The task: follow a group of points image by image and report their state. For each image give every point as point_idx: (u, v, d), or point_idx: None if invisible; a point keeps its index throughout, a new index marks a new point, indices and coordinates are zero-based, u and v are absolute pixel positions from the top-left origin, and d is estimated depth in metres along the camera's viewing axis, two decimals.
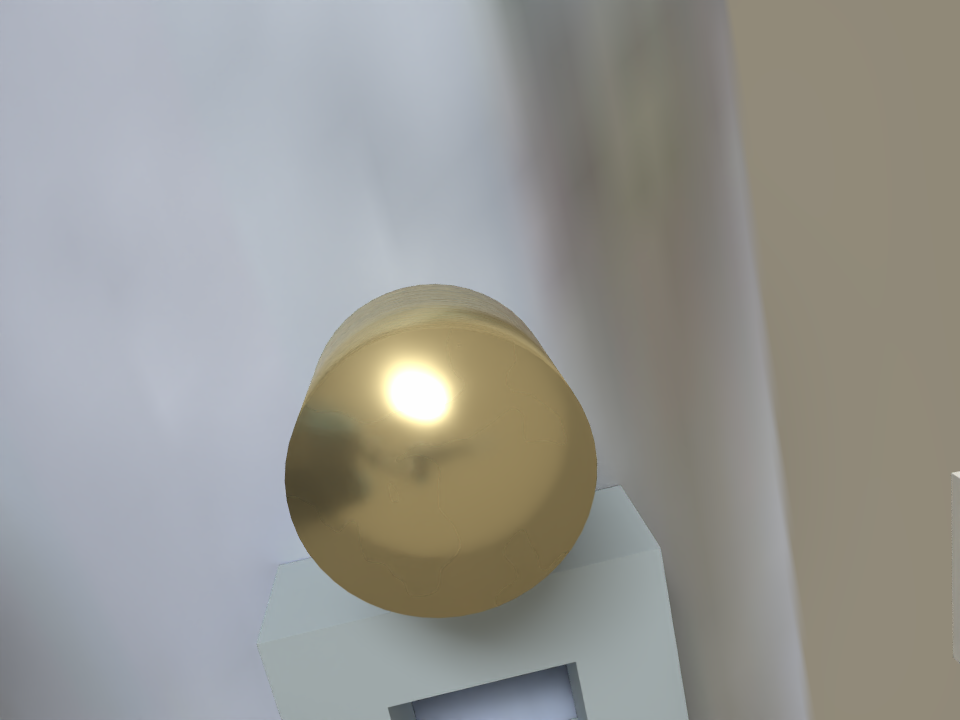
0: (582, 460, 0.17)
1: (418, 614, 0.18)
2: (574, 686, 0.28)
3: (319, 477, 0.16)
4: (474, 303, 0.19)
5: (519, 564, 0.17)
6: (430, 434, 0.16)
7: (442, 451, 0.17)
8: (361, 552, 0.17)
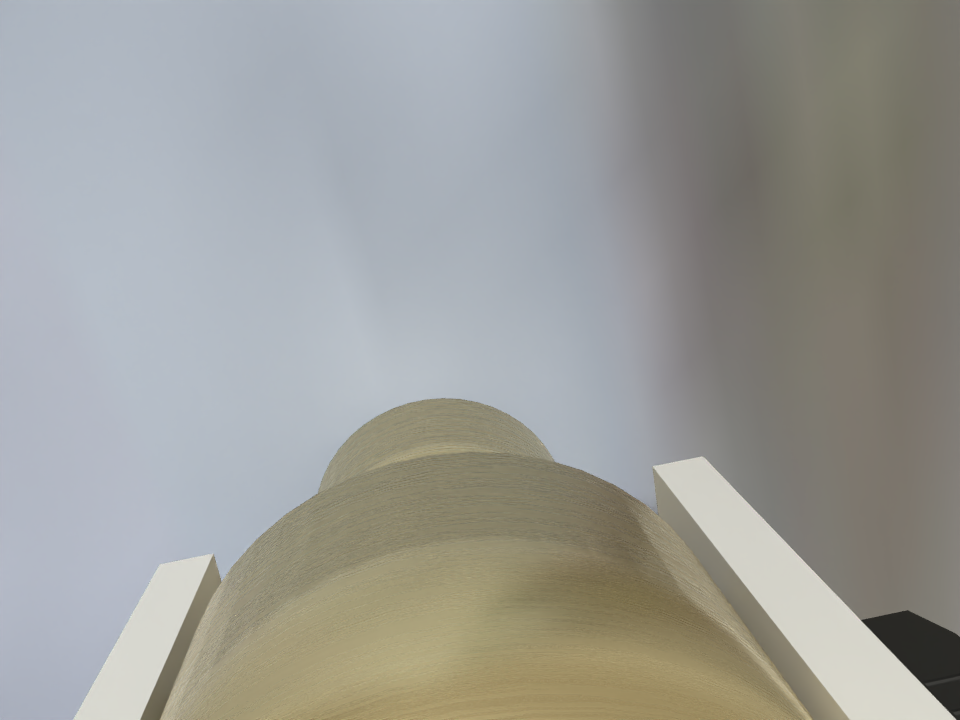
0: None
1: None
2: None
3: None
4: (585, 544, 0.07)
5: None
6: None
7: None
8: None
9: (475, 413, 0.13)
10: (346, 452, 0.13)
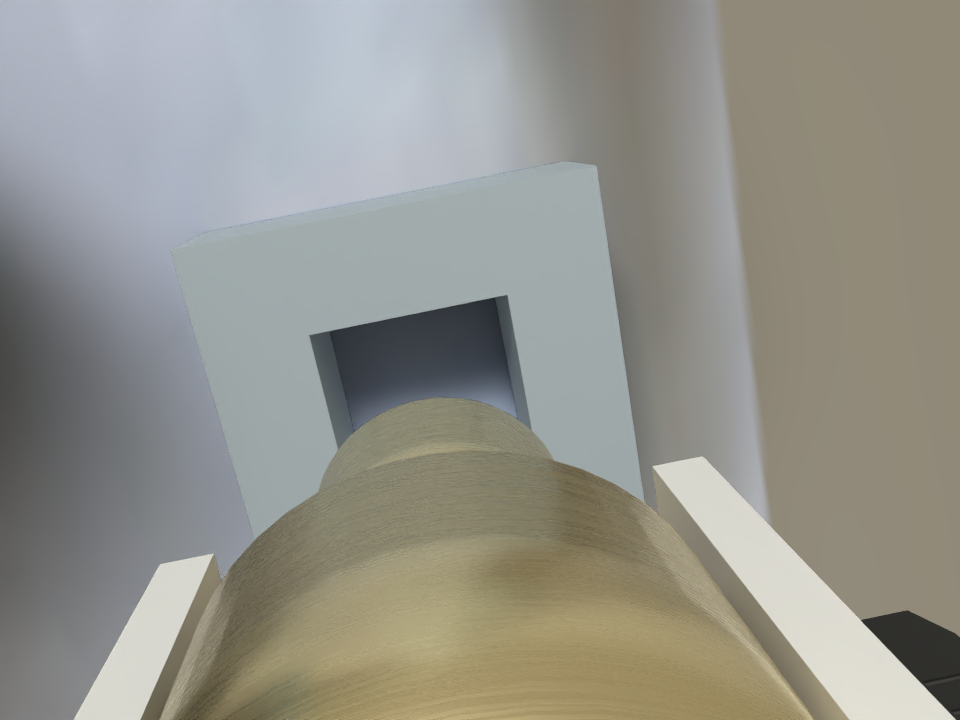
0: None
1: None
2: (512, 366, 0.27)
3: None
4: (585, 542, 0.07)
5: None
6: None
7: None
8: None
9: (475, 412, 0.13)
10: (346, 451, 0.13)
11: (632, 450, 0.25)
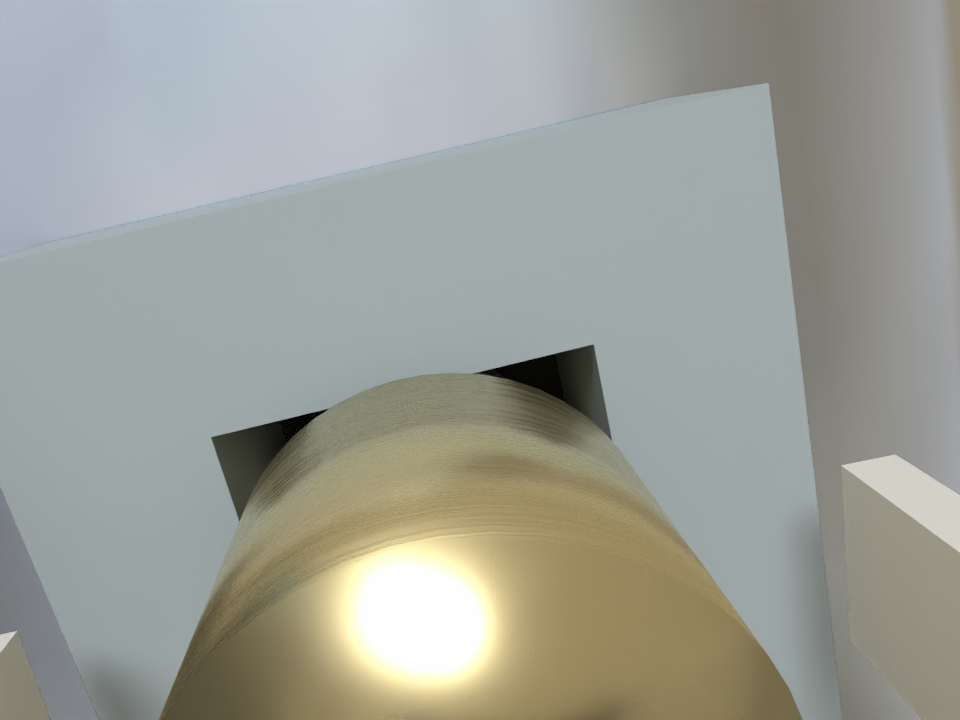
0: None
1: None
2: None
3: None
4: (529, 424, 0.10)
5: None
6: None
7: None
8: None
9: None
10: None
11: (822, 615, 0.14)
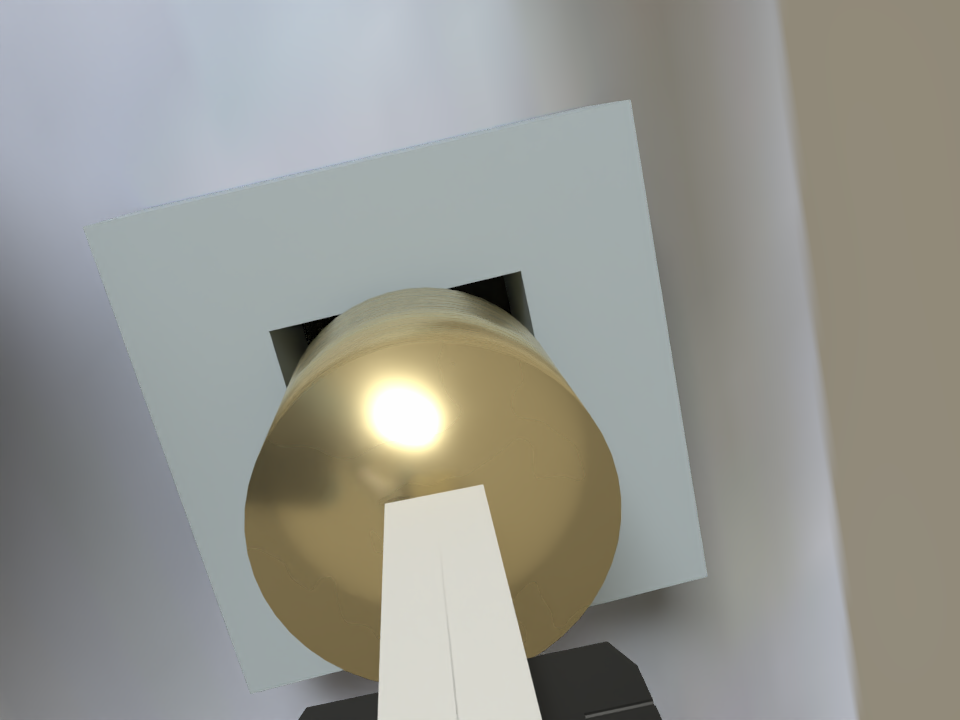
0: (604, 498, 0.14)
1: None
2: None
3: (286, 525, 0.14)
4: (471, 310, 0.16)
5: (529, 622, 0.15)
6: (421, 472, 0.14)
7: (434, 491, 0.14)
8: (339, 613, 0.14)
9: None
10: None
11: (683, 462, 0.20)
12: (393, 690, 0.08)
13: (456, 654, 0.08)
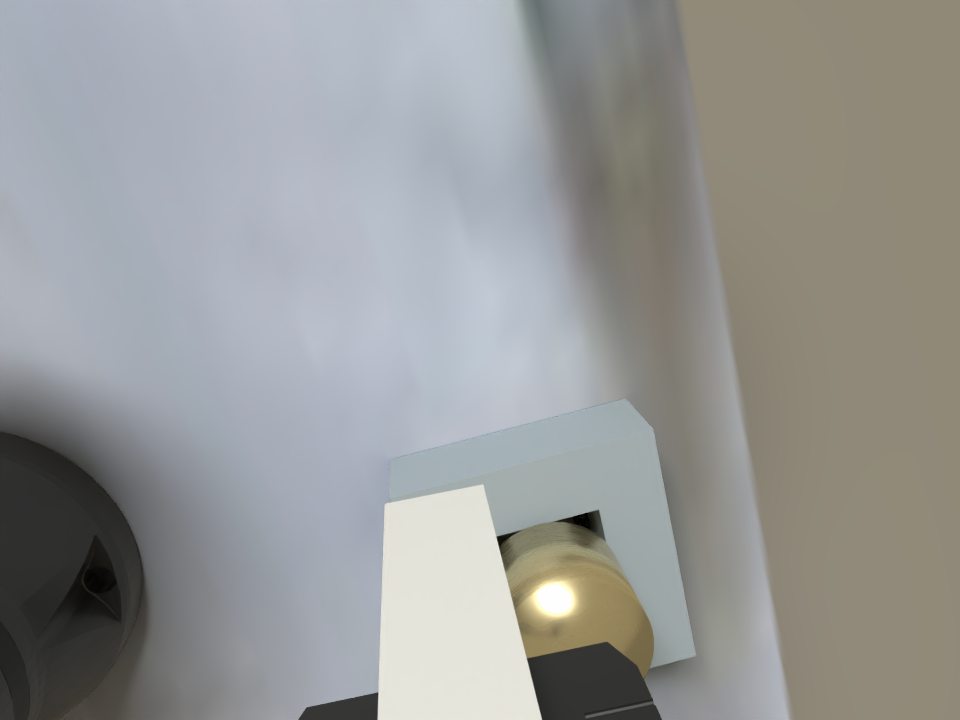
0: (646, 640, 0.32)
1: None
2: None
3: None
4: (581, 544, 0.34)
5: None
6: (568, 631, 0.32)
7: (574, 639, 0.32)
8: None
9: None
10: None
11: (682, 598, 0.38)
12: (393, 690, 0.08)
13: (456, 654, 0.08)
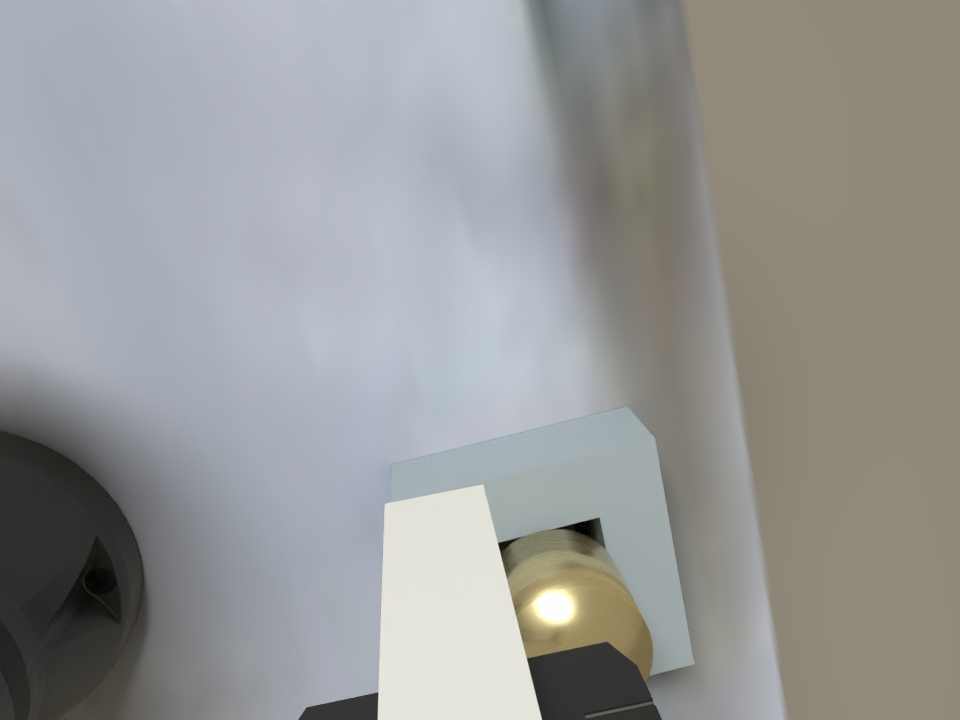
0: (645, 648, 0.33)
1: None
2: None
3: None
4: (581, 551, 0.35)
5: None
6: (568, 639, 0.32)
7: (574, 647, 0.32)
8: None
9: None
10: None
11: (681, 606, 0.39)
12: (393, 690, 0.08)
13: (456, 654, 0.08)
